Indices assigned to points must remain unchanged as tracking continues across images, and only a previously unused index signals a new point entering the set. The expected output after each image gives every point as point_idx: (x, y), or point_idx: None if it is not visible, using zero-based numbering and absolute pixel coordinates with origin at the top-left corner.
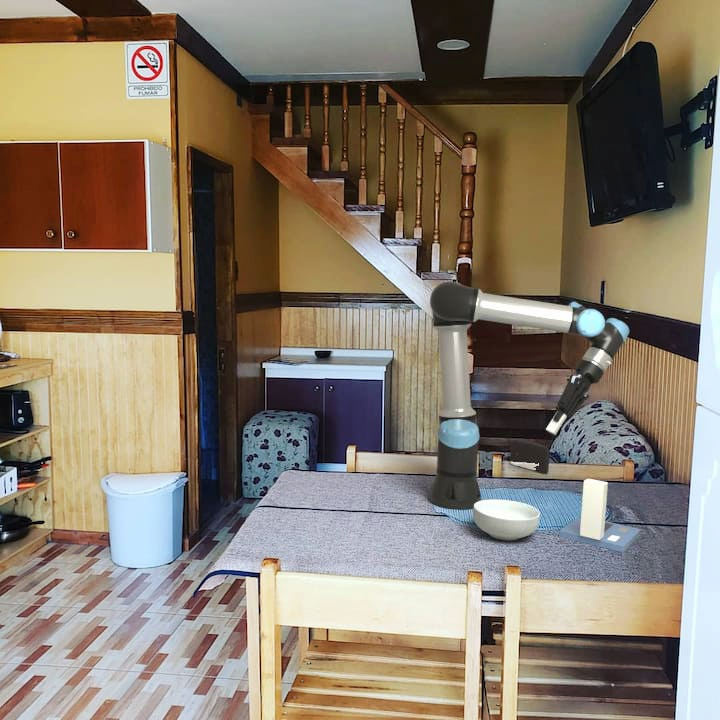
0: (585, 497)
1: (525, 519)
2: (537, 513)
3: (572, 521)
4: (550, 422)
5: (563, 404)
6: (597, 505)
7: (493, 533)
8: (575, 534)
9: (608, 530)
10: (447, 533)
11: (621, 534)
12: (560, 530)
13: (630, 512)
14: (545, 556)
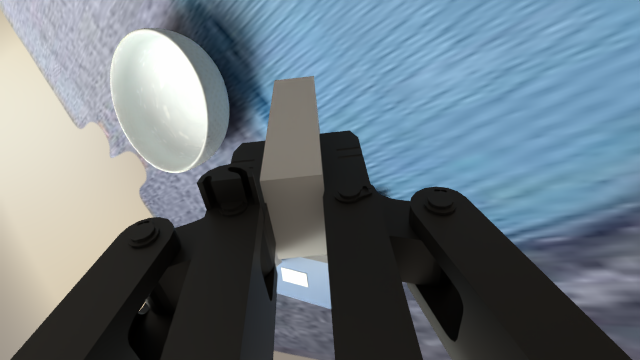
0: None
1: (147, 161)
2: (193, 161)
3: None
4: (270, 110)
5: (146, 302)
6: None
7: (151, 103)
8: None
9: (326, 265)
10: (135, 13)
11: (323, 288)
12: None
13: (573, 300)
14: (188, 188)
